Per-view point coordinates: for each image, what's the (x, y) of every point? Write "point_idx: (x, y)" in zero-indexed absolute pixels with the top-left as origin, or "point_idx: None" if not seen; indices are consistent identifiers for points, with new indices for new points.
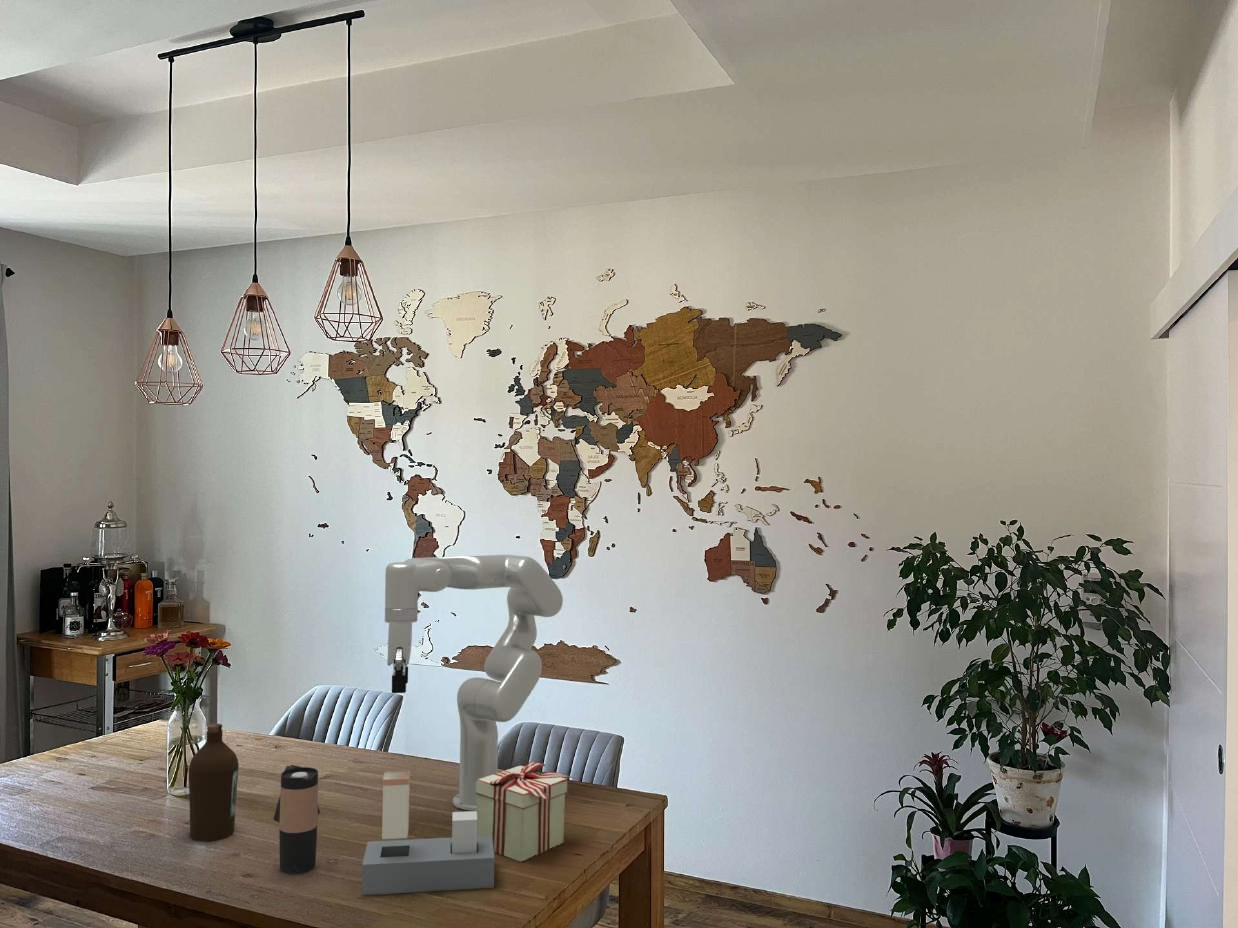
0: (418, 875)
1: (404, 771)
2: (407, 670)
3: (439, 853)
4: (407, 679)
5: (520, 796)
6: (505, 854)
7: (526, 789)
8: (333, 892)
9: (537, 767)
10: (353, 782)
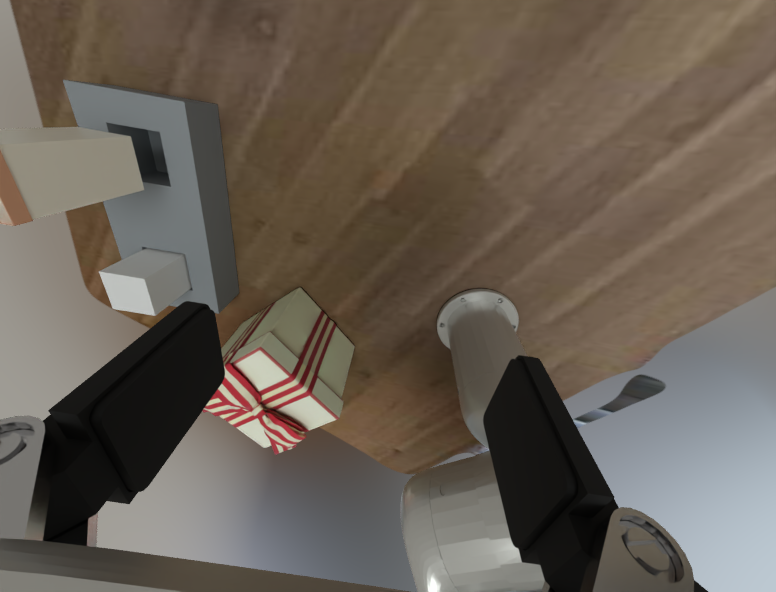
0: None
1: (5, 209)
2: (507, 517)
3: (140, 230)
4: (492, 441)
5: None
6: (257, 313)
7: None
8: (117, 25)
9: (268, 437)
10: (756, 107)
